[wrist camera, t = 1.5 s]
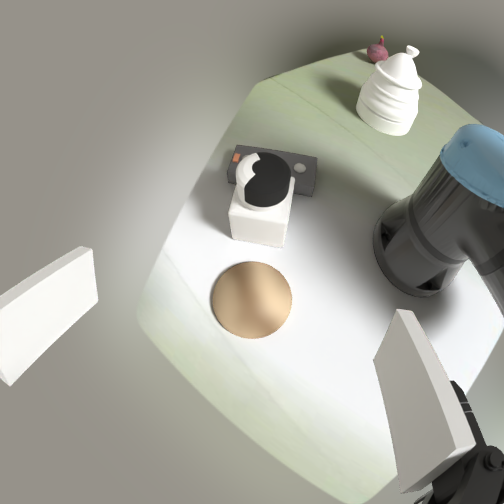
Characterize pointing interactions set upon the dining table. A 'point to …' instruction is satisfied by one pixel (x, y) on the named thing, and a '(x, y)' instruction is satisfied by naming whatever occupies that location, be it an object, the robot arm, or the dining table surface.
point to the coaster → (252, 300)
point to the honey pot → (391, 94)
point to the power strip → (299, 164)
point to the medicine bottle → (261, 200)
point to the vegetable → (377, 52)
